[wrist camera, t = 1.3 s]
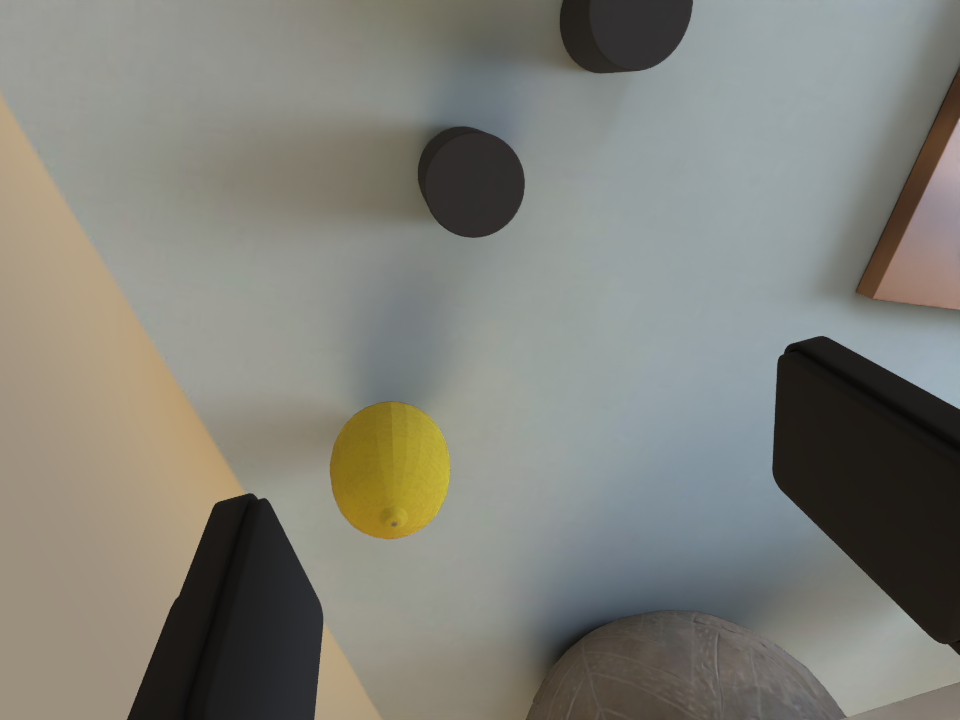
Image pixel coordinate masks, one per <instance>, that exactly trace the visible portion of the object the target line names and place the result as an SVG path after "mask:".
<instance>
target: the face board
mask: <svg viewBox="0 0 960 720" xmlns="http://www.w3.org/2000/svg"><path fill="white" fill-rule="evenodd" d="M856 292H857V293H859V294H861V295H864V296H866V297H868V298H871V299H875V300H883V301H891V302H899V303H907V304H915V305H923V306H931V307H939V308H947V309H955V310H960V68H959V71H958V73H957V75H956V77H955V79H954V81H953V84H952V86H951V88H950V90H949V92H948V94H947V96H946V99H945V101H944V103H943V105H942V107H941V109H940V112H939V114H938V116H937V118H936V120H935V122H934V125H933V127H932V129H931V131H930V133H929V135H928V138H927V140H926V142H925V144H924V146H923V148H922V150H921V153H920V155H919V157H918V159H917V161H916V163H915V166H914V168H913V170H912V172H911V174H910V176H909V179H908V181H907V183H906V185H905V187H904V189H903V192H902V194H901V196H900V198H899V200H898V202H897V205H896V207H895V209H894V211H893V213H892V215H891V217H890V220H889V222H888V224H887V226H886V228H885V230H884V233H883V235H882V237H881V239H880V241H879V243H878V246H877V248H876V250H875V252H874V254H873V256H872V259H871V261H870V263H869V265H868V267H867V269H866V271H865V274H864V276H863V278H862V280H861V282H860V284H859V287H858V289H857V291H856Z"/></svg>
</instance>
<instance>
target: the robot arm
mask: <svg viewBox="0 0 960 720" xmlns="http://www.w3.org/2000/svg"><path fill="white" fill-rule="evenodd" d="M772 470H773V476H774V479H775V481H776V483H777V485H778V487H779V488H780V489H781V490H782V491H783V492H784V493H785V494H786V495H787V496H788V497H789V498H790V499H791V500H792V501H793V502H794V503H795V504H796V505H797V506H798V507H799V508H800V509H801V510H802V511H803V512H804V513H805V514H806V515H807V516H808V517H809V518H810V519H811V520H812V521H813V522H814V523H815V524H816V525H817V526H818V527H819V528H820V529H821V530H822V531H823V532H824V533H825V534H826V535H827V536H828V537H829V538H830V539H832V540H833V541H834V542H835V543H836V544H837V545H838V546H839V547H840V548H841V549H842V550H843V551H844V552H845V553H846V554H847V555H848V556H849V557H850V558H851V559H852V560H853V561H854V562H855V563H856V564H857V565H858V566H859V567H860V568H861V569H862V570H863V571H864V572H865V573H866V574H867V575H868V576H869V577H870V578H871V579H872V580H873V581H874V582H875V583H876V584H877V585H878V586H879V587H880V588H881V589H882V590H883V591H884V592H885V593H886V594H887V595H888V596H889V597H891V598H892V599H893V600H894V601H895V602H896V603H897V604H898V605H899V606H900V607H901V608H902V609H903V610H904V611H905V612H906V613H907V614H908V615H909V616H910V617H911V618H912V619H913V620H914V621H915V622H916V623H917V624H918V625H919V626H920V627H921V628H922V629H923V630H924V631H925V632H926V633H927V634H928V635H929V636H931V637H932V638H933V639H934V640H936V641H937V642H939V643H942V644H948V645H949V646H950V647H952V648H953V649H954V650H955V651H956V652H957V653H958V654H959V655H960V409H958V408H956V407H954V406H952V405H950V404H949V403H947V402H945V401H943V400H941V399H939V398H938V397H936V396H934V395H932V394H930V393H929V392H927V391H925V390H923V389H921V388H919V387H918V386H916V385H914V384H912V383H910V382H908V381H907V380H905V379H903V378H901V377H899V376H897V375H896V374H894V373H892V372H890V371H888V370H886V369H885V368H883V367H881V366H879V365H877V364H875V363H874V362H872V361H870V360H868V359H866V358H864V357H863V356H861V355H859V354H857V353H855V352H853V351H852V350H850V349H848V348H846V347H844V346H842V345H841V344H839V343H837V342H835V341H833V340H831V339H830V338H827V337H824V336H818V337H814V338H811V339H807V340H803V341H800V342H796V343H793V344H790V345H789V346H787V348H786V349H785V352H784V354H783V355H781V356H780V357H779V359H778V364H777V384H776V405H775V425H774V446H773V467H772ZM322 631H323V612H322V607H321V604H320V601H319V599H318V597H317V595H316V593H315V591H314V589H313V587H312V585H311V583H310V581H309V579H308V577H307V575H306V573H305V571H304V569H303V567H302V566H301V564H300V562H299V560H298V558H297V556H296V554H295V552H294V550H293V548H292V546H291V544H290V542H289V540H288V538H287V536H286V534H285V532H284V530H283V528H282V526H281V524H280V522H279V520H278V518H277V516H276V514H275V512H274V510H273V508H272V506H271V504H270V503H269V501H268V500H267V499H265V498H263V499H259V500H258V499H257V497H256V496H255V495H254V494H251V493H249V494H245V495H242V496H238V497H234V498H231V499H227V500H224V501H220V502H218V503H216V504H215V505H214V507H213V509H212V512H211V514H210V517H209V519H208V522H207V525H206V527H205V530H204V532H203V535H202V538H201V540H200V543H199V545H198V548H197V551H196V553H195V556H194V559H193V561H192V564H191V566H190V569H189V571H188V574H187V577H186V579H185V582H184V584H183V587H182V590H181V592H180V595H179V597H178V598H177V599H176V600H175V601H174V603H173V605H172V607H171V609H170V612H169V614H168V617H167V619H166V622H165V624H164V627H163V629H162V632H161V634H160V637H159V640H158V642H157V644H156V647H155V650H154V652H153V655H152V658H151V660H150V662H149V665H148V668H147V670H146V673H145V675H144V678H143V680H142V683H141V686H140V688H139V690H138V693H137V696H136V698H135V701H134V703H133V706H132V708H131V711H130V714H129V716H128V719H127V720H314V716H315V705H316V695H317V684H318V674H319V662H320V653H321V642H322ZM841 720H960V682H959V683H956V684H953V685H949V686H946V687H943V688H940V689H937V690H933V691H930V692H927V693H924V694H921V695H918V696H914V697H911V698H908V699H905V700H902V701H898V702H895V703H892V704H889V705H886V706H882V707H879V708H876V709H873V710H870V711H867V712H863V713H860V714H857V715H854V716H851V717H847V718H844V719H841Z"/></svg>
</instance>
